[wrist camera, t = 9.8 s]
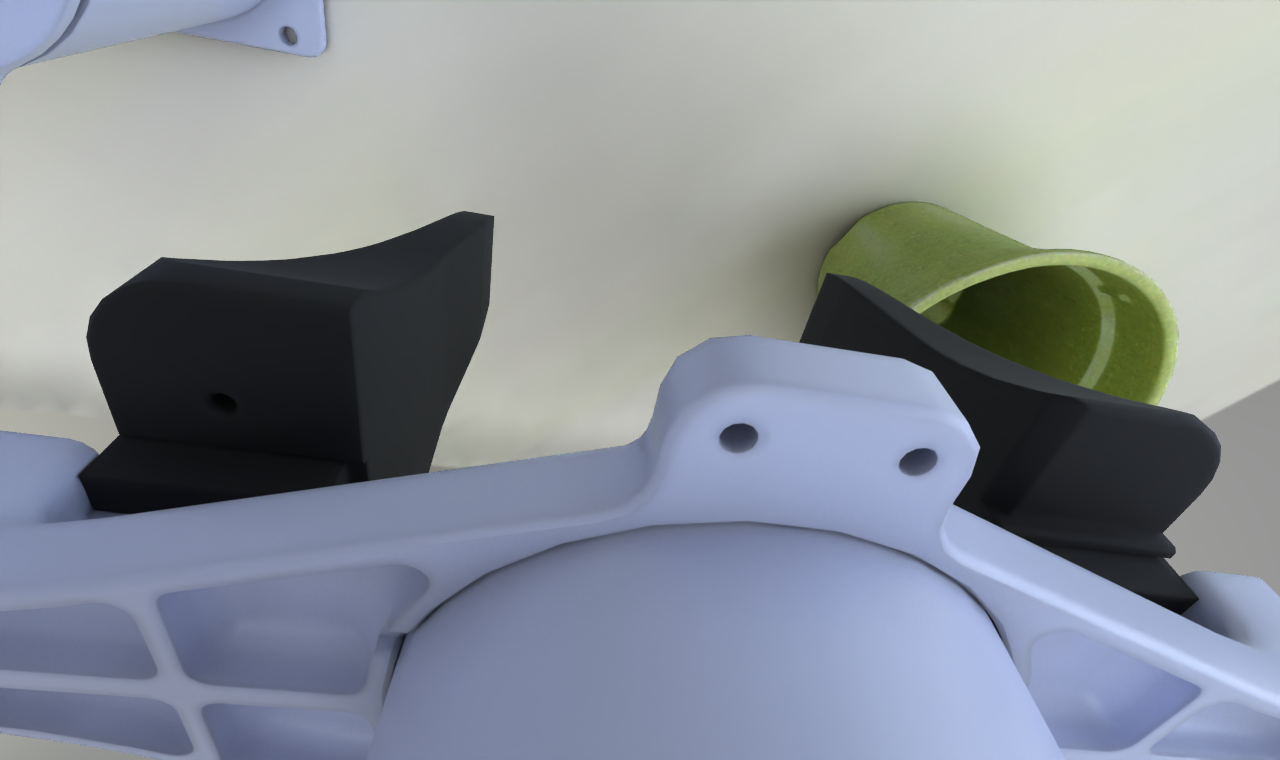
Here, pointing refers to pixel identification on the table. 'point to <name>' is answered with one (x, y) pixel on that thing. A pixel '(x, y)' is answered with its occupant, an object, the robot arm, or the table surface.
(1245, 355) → the table surface
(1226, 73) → the table surface
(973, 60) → the table surface
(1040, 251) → the plant pot
